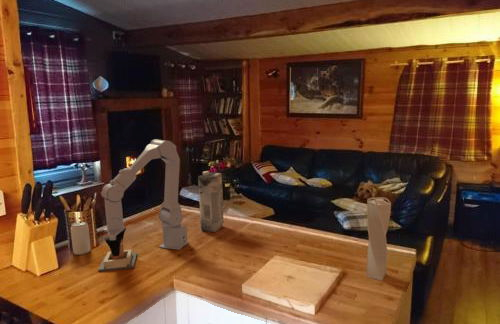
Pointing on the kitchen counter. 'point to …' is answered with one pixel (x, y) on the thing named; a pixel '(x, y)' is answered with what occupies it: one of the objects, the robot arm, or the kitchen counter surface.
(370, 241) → the skyscraper
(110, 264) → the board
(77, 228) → the can
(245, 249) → the kitchen counter surface
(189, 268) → the kitchen counter surface
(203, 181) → the juice carton
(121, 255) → the tube
